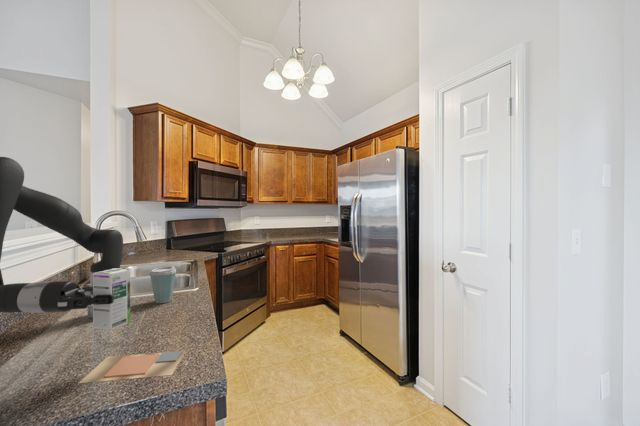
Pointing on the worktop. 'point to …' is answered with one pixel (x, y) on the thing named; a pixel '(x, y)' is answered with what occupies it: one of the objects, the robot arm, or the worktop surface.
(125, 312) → the syrup box
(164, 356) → the slate tile
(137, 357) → the terracotta pad
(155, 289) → the disposable coffee cup
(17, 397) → the worktop surface
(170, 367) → the oak board
